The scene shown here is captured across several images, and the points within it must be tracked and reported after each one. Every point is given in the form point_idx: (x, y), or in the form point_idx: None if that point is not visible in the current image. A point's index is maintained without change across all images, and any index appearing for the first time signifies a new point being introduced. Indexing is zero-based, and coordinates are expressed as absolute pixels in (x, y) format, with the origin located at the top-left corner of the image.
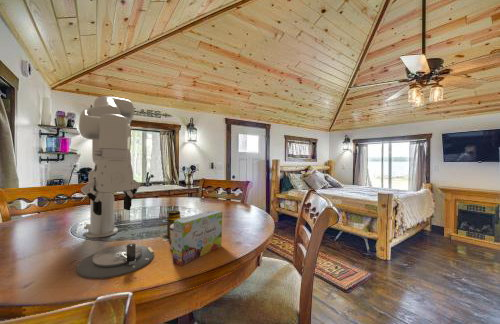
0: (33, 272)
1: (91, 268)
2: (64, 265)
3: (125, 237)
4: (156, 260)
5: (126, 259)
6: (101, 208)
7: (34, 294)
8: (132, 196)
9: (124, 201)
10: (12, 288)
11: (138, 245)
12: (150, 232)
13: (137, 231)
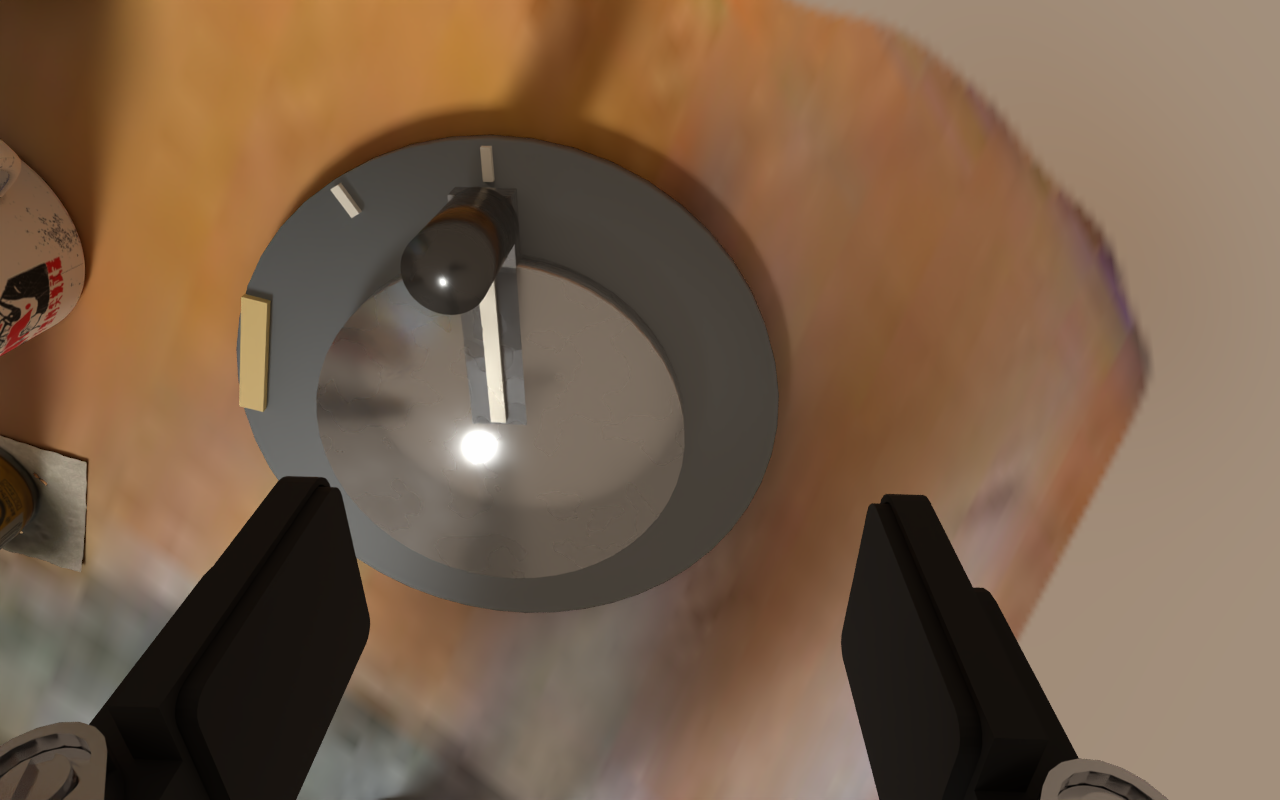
0: None
1: (710, 400)
2: (769, 595)
3: None
4: (275, 160)
5: (506, 266)
6: (909, 591)
7: (1033, 362)
8: (15, 750)
9: (299, 745)
10: (1047, 523)
11: None
12: None
13: None
